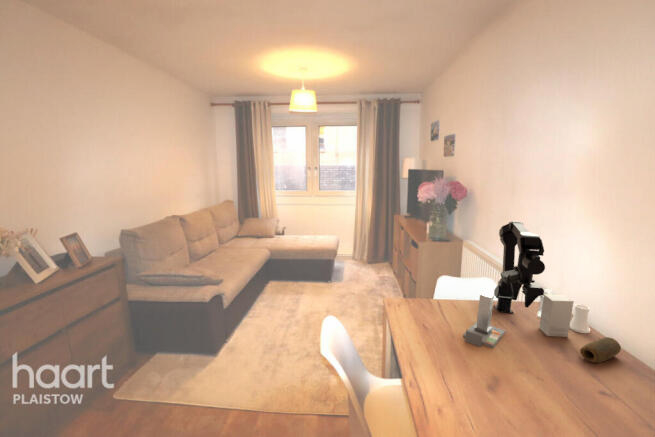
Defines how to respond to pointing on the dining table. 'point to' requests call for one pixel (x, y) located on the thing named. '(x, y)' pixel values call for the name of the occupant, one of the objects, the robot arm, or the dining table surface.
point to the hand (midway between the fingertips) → (520, 301)
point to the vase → (580, 319)
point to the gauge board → (483, 336)
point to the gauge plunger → (485, 314)
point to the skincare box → (556, 315)
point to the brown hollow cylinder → (600, 350)
